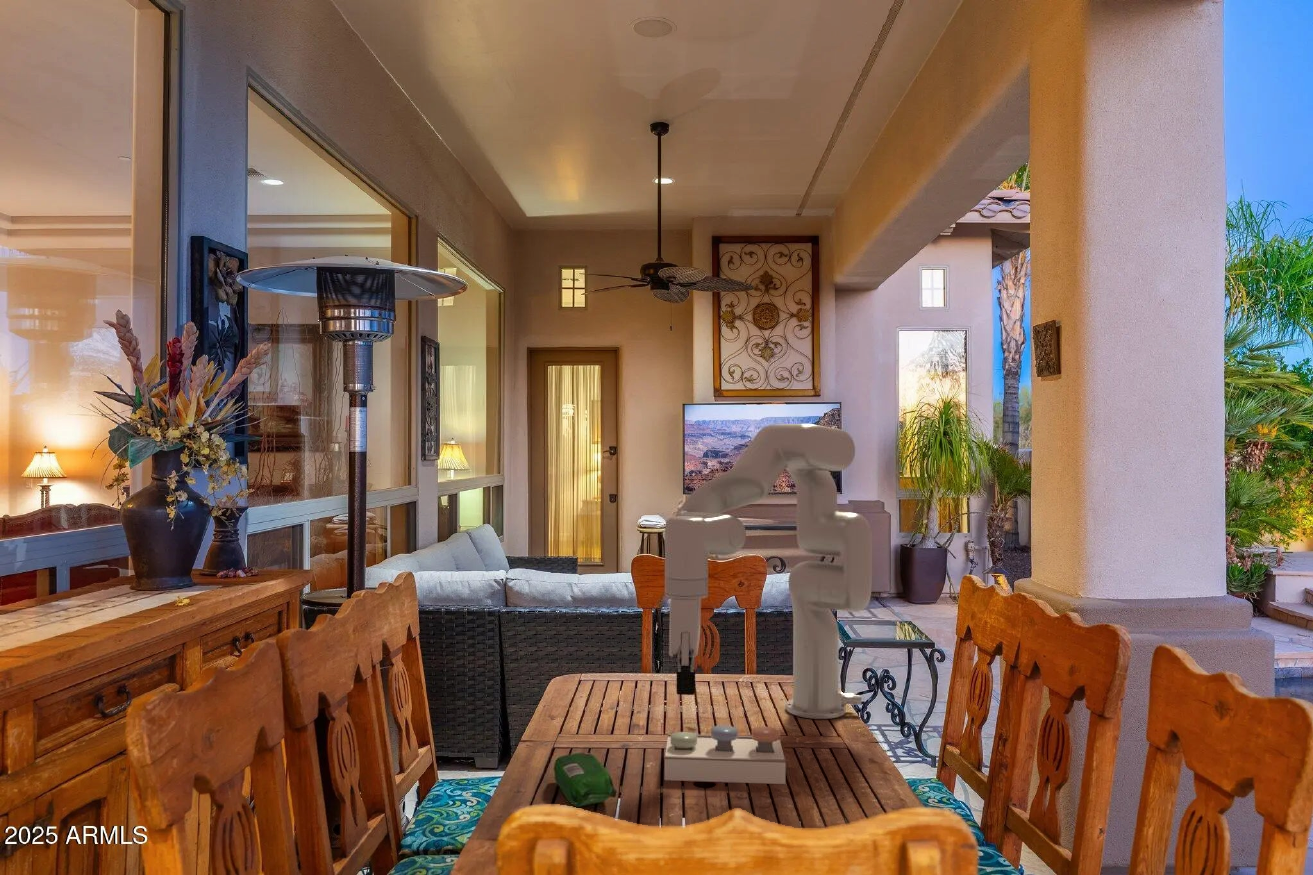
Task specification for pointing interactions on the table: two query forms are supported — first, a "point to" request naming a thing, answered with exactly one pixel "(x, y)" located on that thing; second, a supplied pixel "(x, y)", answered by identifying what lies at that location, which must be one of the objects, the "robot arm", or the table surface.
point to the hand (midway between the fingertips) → (685, 693)
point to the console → (725, 762)
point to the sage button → (683, 740)
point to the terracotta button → (765, 738)
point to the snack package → (583, 779)
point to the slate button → (724, 736)
